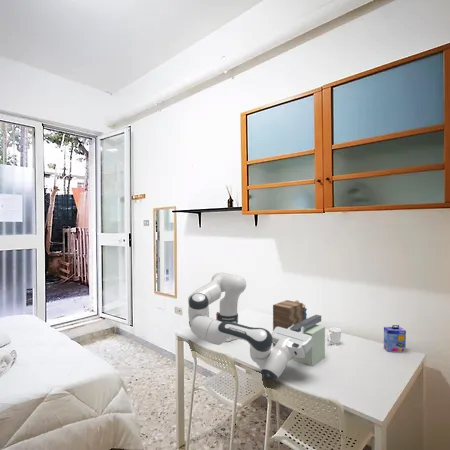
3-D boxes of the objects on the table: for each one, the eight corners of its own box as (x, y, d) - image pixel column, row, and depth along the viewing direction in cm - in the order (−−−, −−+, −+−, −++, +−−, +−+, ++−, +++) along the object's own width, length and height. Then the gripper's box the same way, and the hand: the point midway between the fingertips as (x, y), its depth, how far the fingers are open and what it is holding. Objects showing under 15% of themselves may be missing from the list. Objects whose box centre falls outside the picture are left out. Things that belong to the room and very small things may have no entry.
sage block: (312, 366, 147) (312, 333, 147) (294, 360, 154) (294, 328, 154) (324, 357, 157) (324, 326, 157) (307, 351, 164) (307, 322, 164)
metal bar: (298, 332, 145) (298, 326, 145) (292, 331, 147) (292, 325, 147) (321, 321, 162) (321, 315, 162) (316, 319, 164) (316, 314, 164)
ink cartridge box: (387, 352, 163) (387, 325, 163) (383, 348, 169) (383, 322, 169) (406, 352, 163) (406, 326, 163) (401, 348, 168) (401, 322, 168)
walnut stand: (289, 358, 156) (288, 308, 156) (273, 352, 163) (273, 304, 163) (302, 349, 166) (302, 303, 166) (287, 344, 173) (287, 300, 173)
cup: (344, 344, 174) (344, 330, 174) (332, 347, 169) (332, 333, 169) (334, 340, 181) (334, 326, 180) (322, 343, 175) (322, 329, 175)
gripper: (269, 346, 148) (282, 326, 156) (307, 359, 134) (319, 336, 142) (265, 336, 146) (279, 317, 154) (303, 348, 131) (316, 326, 140)
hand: (299, 326), depth 148 cm, fingers closed on metal bar, 3 cm apart
